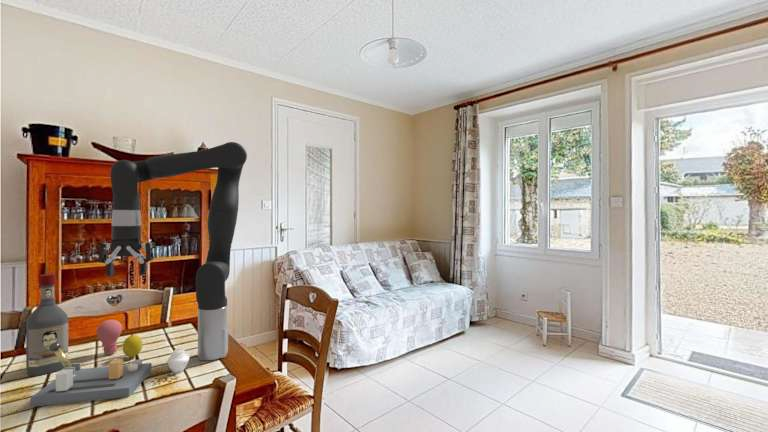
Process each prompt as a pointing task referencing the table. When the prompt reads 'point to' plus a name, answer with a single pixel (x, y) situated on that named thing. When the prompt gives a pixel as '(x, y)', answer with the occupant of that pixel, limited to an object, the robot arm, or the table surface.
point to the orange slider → (116, 369)
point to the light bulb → (109, 335)
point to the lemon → (132, 345)
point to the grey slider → (64, 380)
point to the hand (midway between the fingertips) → (126, 275)
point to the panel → (94, 385)
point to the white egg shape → (178, 360)
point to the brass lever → (60, 354)
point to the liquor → (45, 331)
